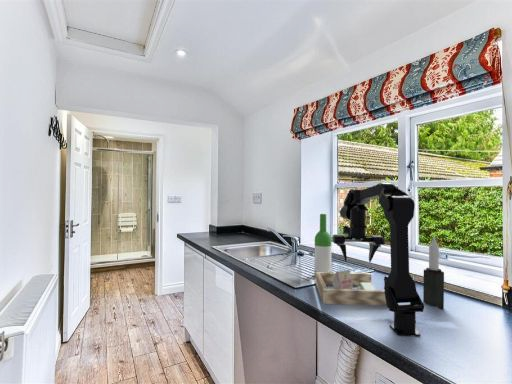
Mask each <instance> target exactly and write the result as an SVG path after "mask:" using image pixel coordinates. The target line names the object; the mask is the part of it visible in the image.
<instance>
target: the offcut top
mask: <svg viewBox="0 0 512 384" xmlns="http://www.w3.org/2000/svg"><path fill="white" fill-rule="evenodd" d="M359 286H360V287H361V289H362V290H376V288H375V286H374V285H373V284H372V282H371V283H366V282H360V285H359Z"/></svg>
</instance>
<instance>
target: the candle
mask: <svg viewBox="0 0 512 384" xmlns="http://www.w3.org/2000/svg"><path fill="white" fill-rule="evenodd" d="M439 250H440V246H439V244H438V243H437V241H436V237H435V236H432V240H431V243H430V244H429V245H428V267H426V268H425V269H423V284H422V285H423V289H422V290H423V292H422V295H423V299H422V300H423V301H422V302H423V304H427V305H429V306H431V307H437V308H438V309H439V310H444V307H445V306H444V305H445V303H444V301H445V272H444V271H443V270H442V269H441V268H439V266H440V265H439V264H440V263H439V260H440V259H439V257H440V256H439V255H440V254H439V253H440V251H439Z"/></svg>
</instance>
